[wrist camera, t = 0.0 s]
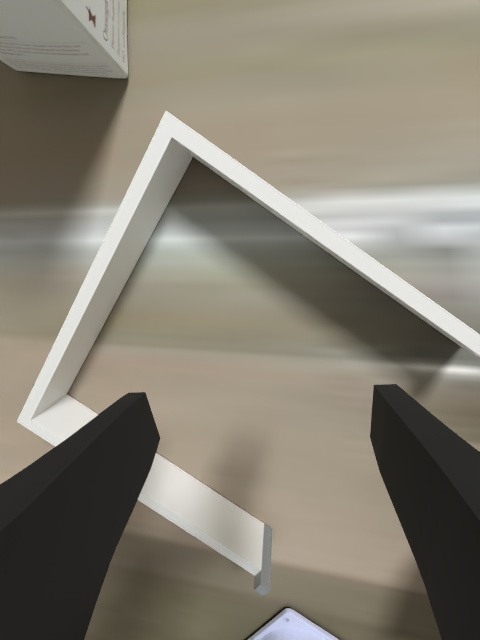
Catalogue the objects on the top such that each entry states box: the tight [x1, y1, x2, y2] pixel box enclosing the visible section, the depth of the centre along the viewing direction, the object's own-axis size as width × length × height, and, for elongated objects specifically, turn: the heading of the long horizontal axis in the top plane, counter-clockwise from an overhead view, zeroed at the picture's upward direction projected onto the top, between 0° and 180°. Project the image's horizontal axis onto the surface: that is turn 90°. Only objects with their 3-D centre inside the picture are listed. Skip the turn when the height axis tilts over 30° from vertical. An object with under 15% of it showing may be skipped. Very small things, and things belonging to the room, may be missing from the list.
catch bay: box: [17, 111, 480, 596], centre depth 18 cm, size 22×21×4 cm
